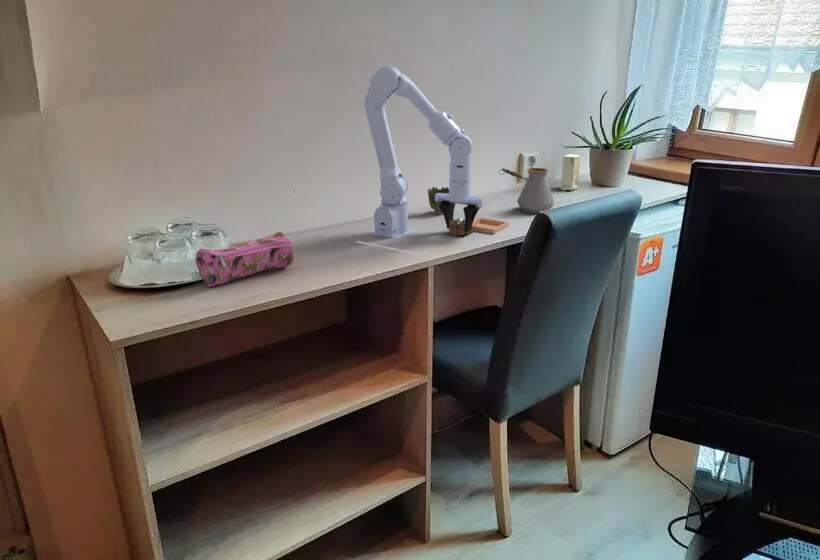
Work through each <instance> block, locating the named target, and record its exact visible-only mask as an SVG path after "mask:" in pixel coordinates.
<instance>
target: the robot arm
mask: <svg viewBox="0 0 820 560" xmlns="http://www.w3.org/2000/svg"><path fill="white" fill-rule="evenodd" d="M394 93H395V96H398V97H403V98H406V99H408V100H409V101H410V103H411V104H412V105H413V106H415V108H417V110H418V111H419V112H420V113H421V114H422V115H423V116H424V117H425V118H426V119H427V120H428V129H430V130H431V132H432V133H433V134H434V135H435V136H436V137H437V138H438V140H439V141H440V142H442V144H444V146H447V147H448V153H449V154H450V162H449V175H448V176H449V178H448V179H449V183H448V189H449V194H445V193H437V194H435V201H441V204H439V208H440V209H441V211H442V213H443V214H442V215H443V217H444V221H445V226H446V229H447V230H449V221H452V220H454V212H455V208H456V204H457V205H465V206H464V207H463V208H462V210H463V213H464V215H463V216H464V220H465V232H472V230H471V228H472V224H473V221H474V220H475V218H476V216H477V214H478V212H479V210H480V208H481V209H482V208H484V207H485V206H486V199H485V198H481V197H476V196H473V195H471V183H472V182H471V181H472V179H471V177H472V163H471V162H472V155H471V153H472V149H473V148H472V147H473V143H472V139H471V138H470V135H468V134H467V133H465V130H464V129H463V128H460V127H459V126H458V125H457V124H456V123H455V122H454V120H453V115H452V114H450V113H447V112H446V111H439V110H438V109H436V108H435V107H434V105H433V104H432V102H430V101H429V99H428V98H427V97H426V95H424V93H423V92H422V91H421V90H420V89H419V87H418V86H417V85H416V84H415V83H414V82H413V81H412V79H410V78H409V77H408V76H407V75H406V74H403V71H402V70H401V69H400V68H399V67H397V66H394V65H389V66H384V67H380V68H379V69H377V71H376V72H375V73H374V74H373V76H371V78H370V80H369V86H368V89H367V92H366V94H365V95H366V96H365V98H364V103H363V104H364V109H365V112H366V117H367V121H368V125H369V129H370V133H371V137H372V141H373V145H374V149H375V154H376V157H377V161H378V165H379V170H380V174H379V177H380V179H379V180H380V183H381V184H380V185H381V187H380V189H379V191H380V192H379V194H380V198H381V200H380V201H381V203H380V204H379V206H378V207H377V208H375V211H374V215H373V216H374V217H373V220H374V232H373V233H372V235H374V236H378V237H379V236H380V237H386V238H390V239H398V238H401V237H402V236H405V235H408V234H410V233H412V232H414V231H415V229H412V228H409V227H408V226H409V219H408V218H409V216H408V215H409V214H408V212H409V210H408V208H409V207H408V198H407V197H406V195H405V194H406V193H407V191H408V187H409V185H408V181H407V179H406V178H405V177H404V175H403V173H402V169H401V168H400V166H399V164H398V160H397V155H396V151H395V147H394V142H393V139H392V135H391V130H390V129H391V128H390V125H389V121H388V119H387V118H388V117H387V113H386V109H385V107H386V104H387V103H388V100H389V99H390V98H391V96H392V95H393V94H394Z"/></svg>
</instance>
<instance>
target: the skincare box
mask: <svg viewBox="0 0 820 560" xmlns="http://www.w3.org/2000/svg"><path fill="white" fill-rule="evenodd" d="M580 162H581V155H580V154H571V153H569V154H566V155H563V158H562V166H561V167H562V171H561V182H560V190H561V189H564V190H563V191H565V190H573V189H575V188H577V189H578V183H579V173H580ZM575 190H576V189H575ZM573 191H574V190H573Z"/></svg>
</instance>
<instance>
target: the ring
mask: <svg viewBox="0 0 820 560" xmlns="http://www.w3.org/2000/svg"><path fill="white" fill-rule="evenodd" d="M448 232H449V233H450V234H451V235H458V236H459V235H466V234H468V233H469V232H470V231H469V232H465V219H462V224H457V219H453V220H452V221H449V229H448Z"/></svg>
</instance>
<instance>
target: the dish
mask: <svg viewBox="0 0 820 560" xmlns="http://www.w3.org/2000/svg"><path fill="white" fill-rule="evenodd" d="M509 227H510V222H509V221H505V220H500V219H499V220H498V219H493V218H492V219H491V218H487V217H486V218H485V217H477V218H476V219H474V221H473V224H472V228H471V232H478V233H479V232H480V233H485V234H490V235H496V234H498V233H500V232H501V231H503V230H505V229H507V228H509Z"/></svg>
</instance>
